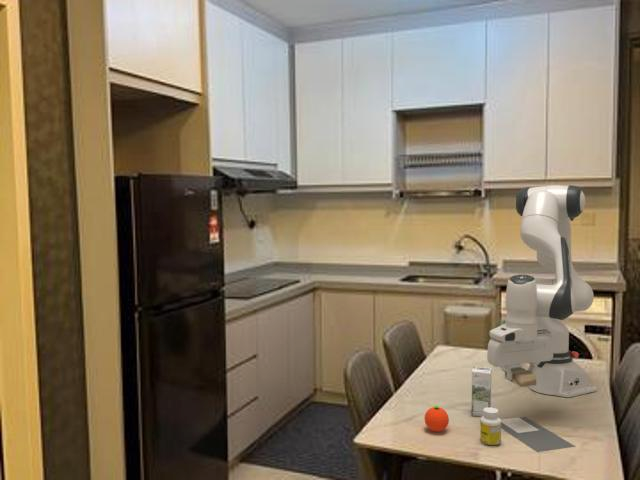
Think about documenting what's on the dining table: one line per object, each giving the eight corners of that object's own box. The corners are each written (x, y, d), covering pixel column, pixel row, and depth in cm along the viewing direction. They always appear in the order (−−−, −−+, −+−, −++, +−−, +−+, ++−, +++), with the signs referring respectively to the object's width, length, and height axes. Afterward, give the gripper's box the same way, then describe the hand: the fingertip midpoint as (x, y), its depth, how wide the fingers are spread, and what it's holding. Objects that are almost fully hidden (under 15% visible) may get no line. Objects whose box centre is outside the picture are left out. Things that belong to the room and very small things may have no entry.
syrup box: (491, 412, 181) (491, 366, 180) (490, 418, 175) (490, 372, 174) (472, 410, 183) (473, 365, 182) (470, 416, 177) (471, 370, 176)
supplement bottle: (477, 441, 159) (477, 406, 159) (496, 440, 160) (496, 405, 159) (484, 449, 154) (485, 413, 153) (504, 448, 154) (504, 413, 154)
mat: (525, 418, 175) (525, 416, 175) (575, 448, 154) (575, 446, 154) (490, 423, 172) (490, 420, 172) (537, 454, 151) (537, 451, 151)
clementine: (422, 424, 171) (422, 401, 171) (445, 424, 171) (445, 401, 171) (426, 435, 163) (426, 411, 163) (450, 435, 163) (451, 411, 163)
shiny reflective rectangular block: (536, 385, 165) (536, 374, 164) (521, 386, 163) (521, 376, 163) (519, 376, 172) (519, 366, 172) (504, 378, 171) (504, 368, 171)
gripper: (544, 326, 173) (543, 371, 174) (484, 331, 167) (484, 378, 168) (558, 331, 166) (557, 377, 168) (497, 336, 161) (496, 385, 162)
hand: (520, 378), depth 168 cm, fingers closed on shiny reflective rectangular block, 5 cm apart
